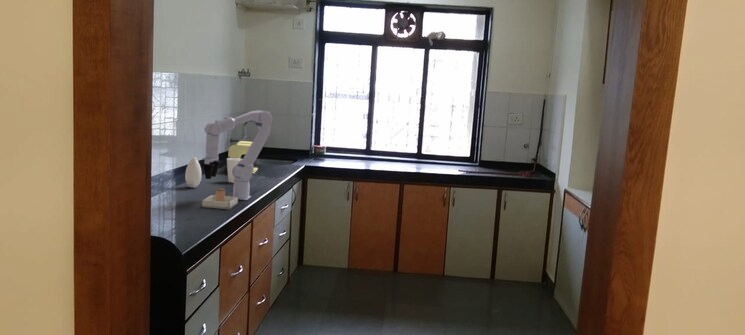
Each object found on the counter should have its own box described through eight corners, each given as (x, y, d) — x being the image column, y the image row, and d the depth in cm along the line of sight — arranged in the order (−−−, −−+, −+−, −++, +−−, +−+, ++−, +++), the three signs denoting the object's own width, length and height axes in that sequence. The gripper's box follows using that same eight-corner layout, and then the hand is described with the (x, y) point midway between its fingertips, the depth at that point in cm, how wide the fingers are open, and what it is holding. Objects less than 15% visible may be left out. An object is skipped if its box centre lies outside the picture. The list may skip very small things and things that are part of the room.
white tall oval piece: (195, 189, 288) (197, 154, 286) (181, 187, 290) (183, 152, 288) (203, 187, 296) (205, 153, 294) (189, 185, 297) (191, 151, 295)
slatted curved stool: (235, 167, 380) (236, 140, 378) (259, 168, 382) (260, 142, 380) (227, 173, 351) (228, 144, 348) (253, 175, 352) (255, 146, 350)
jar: (217, 202, 258) (218, 187, 257) (225, 203, 257) (226, 188, 257) (213, 203, 254) (214, 189, 253) (222, 204, 254) (223, 190, 253)
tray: (211, 201, 263) (212, 194, 262) (237, 203, 263) (238, 197, 262) (202, 207, 249) (202, 200, 249) (229, 209, 249) (229, 202, 248)
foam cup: (222, 181, 321) (223, 158, 319) (237, 180, 327) (238, 157, 325) (231, 183, 314) (232, 160, 312) (245, 183, 320) (247, 160, 319)
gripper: (208, 146, 270) (206, 174, 272) (198, 149, 256) (196, 179, 257) (223, 147, 270) (221, 176, 272) (214, 150, 256) (212, 180, 257)
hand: (210, 177), depth 265 cm, fingers open, 7 cm apart
